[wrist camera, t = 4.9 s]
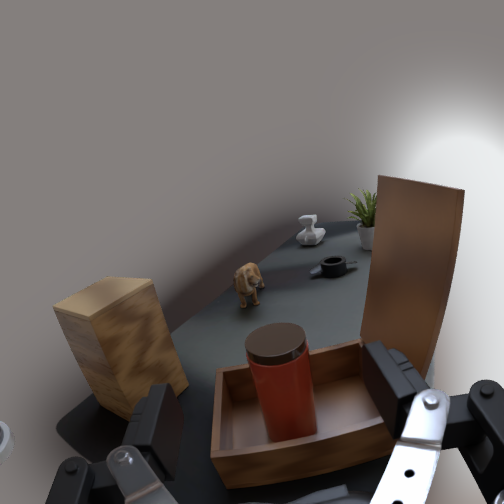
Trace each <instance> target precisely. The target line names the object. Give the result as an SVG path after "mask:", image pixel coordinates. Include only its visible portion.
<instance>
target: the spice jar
mask: <svg viewBox="0 0 504 504" xmlns="http://www.w3.org/2000/svg"><path fill="white" fill-rule="evenodd" d="M245 348H246V357H247V361H248V364H249V368H250V372H251V376H252V380H253V384H254V387H255V391H256V395H257V399H258V402H259V406H260V410H261V414H262V417H263V421H264V425H265V428H266V432H267V435H268V437H269V438H270V439H271V440H272V441H273V442H275V443H276V442H282V441H287V440H292V439H297V438H302V437H307V436H311V435H314V434H315V433H316V431H317V428H318V419H317V410H316V401H315V393H314V385H313V376H312V369H311V361H310V353H309V346H308V341H307V339H306V333H305V331H304V329H303V328H301V327H300V326H298V325H296V324H292V323H274V324H269V325H266V326H263V327H260V328H258V329H256V330H255V331H253V332H252V333H251V334H249V336H248V337H247V338H246V340H245Z"/></svg>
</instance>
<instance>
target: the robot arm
mask: <svg viewBox="0 0 504 504" xmlns="http://www.w3.org/2000/svg"><path fill="white" fill-rule="evenodd" d="M362 374H363V380H364V384H365V386H366V388H367V390H368V392H369V394H370V396H371V398H372V400H373V402H374V404H375V406H376V408H377V410H378V411H379V413H380V415H381V417H382V419H383V421H384V423H385V425H386V427H387V429H388V431H389V433H390V435H391V437H392V439H393V440H395V439H398V438H400V439H398V441H397V443H396V445H395V448H394V450H393V453H392V455H391V458H390V460H389V463H388V465H387V467H386V470H385V472H384V474H383V477H382V479H381V481H380V483H379V485H378V488H377V490H376V492H375V494H373V493H369V492H362V491H348V490H347V487H346V484H344V485H341V486H337V487H333V488H329V489H324V490H320V491H316V492H313V493H311V494H309V495H306V496H304V497H302V498H299V499H297V500H294V501H292V502H289V503H286V504H424V503H425V500H426V498H427V495H428V492H429V489H430V486H431V482H432V479H433V476H434V473H435V469H436V466H437V462H438V458H439V455H440V451H441V450H445V449H451V448H458V449H459V451H460V453H461V455H462V457H463V458H464V460H465V462H466V464H467V466H468V468H469V469H470V471H471V473H472V475H473V477H474V479H475V481H476V483H477V484H478V487H479V489H480V490H481V493H482V494H483V496H484V498H485V500H486V502H487V504H504V389H503V388H502V387H501V386H500V385H499V384H498V383H497V382H495V381H492V380H481V381H478V382H476V383H474V384H473V385H472V387H471V388H470V392H469V393H468V394H462V395H456V396H448V395H447V394H446V393H445V392H444V391H441V390H438V389H431V388H430V387H429V386H428V384H427V383H426V382H425V380H424V379H423V378H422V377H421V375H420V374H419V373H418V371H417V370H416V369H415V368H414V366H413V365H412V364H411V362H409V360H408V358H407V357H406V356H405V355H404V353H402V352H400V351H398V350H397V349H395V348H392V349H389V350H387V349H386V347H385V346H384V344H383V343H382V342H381V341H380V340H378V341H374V342H371V343H367V344H364V345H362ZM183 423H184V416H183V411H182V408H181V406H180V404H179V402H178V399H177V397H176V395H175V393H174V390H173V388H172V386H171V384H170V383H163V384H153V385H151V387H150V390H149V393H148V396H147V397H142V398H141V399H140V400H139V401H138V403H137V404H136V405H135V407H134V410H133V413H132V416H131V418H130V422H129V424H128V427H127V430H126V433H125V436H124V438H123V441H122V444H121V446H120V447H117V448H115V449H114V450H112V451H111V452H110V454H109V455H108V457H107V460H105V461H101V462H97V463H92V464H88V463H87V462H86V460H85V459H83V458H81V457H71V458H68V459H66V460H65V461H63V462H62V464H61V465H60V466H59V469H58V471H57V474H56V476H55V479H54V482H53V484H52V487H51V489H50V492H49V495H48V498H47V500H46V503H45V504H178V503H177V501H176V500H175V499H174V498H173V496H172V495H171V494H170V493H169V491H168V490H167V489H166V488H165V486H164V481H174V479H175V472H176V466H177V459H178V453H179V447H180V441H181V435H182V429H183ZM3 438H4V431H3V429H2V428H1V426H0V445H1V443H2V441H3ZM240 504H272V503H257V502H250V503H240Z"/></svg>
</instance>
